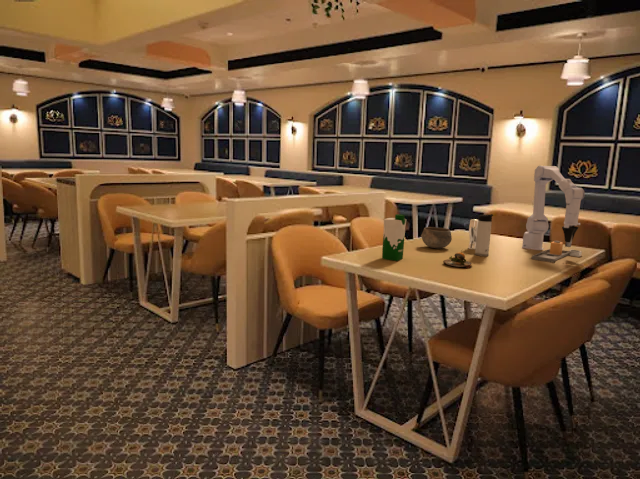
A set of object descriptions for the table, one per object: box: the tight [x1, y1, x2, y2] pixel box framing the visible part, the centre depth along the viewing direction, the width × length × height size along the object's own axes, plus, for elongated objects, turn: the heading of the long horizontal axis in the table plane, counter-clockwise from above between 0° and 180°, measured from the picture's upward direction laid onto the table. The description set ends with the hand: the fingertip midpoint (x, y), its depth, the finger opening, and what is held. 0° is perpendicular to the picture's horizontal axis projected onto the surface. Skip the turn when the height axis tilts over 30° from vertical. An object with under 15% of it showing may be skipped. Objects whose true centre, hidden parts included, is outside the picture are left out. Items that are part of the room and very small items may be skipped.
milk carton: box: [381, 214, 407, 262], centre depth 221 cm, size 9×9×20 cm
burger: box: [442, 250, 473, 270], centre depth 214 cm, size 12×12×8 cm
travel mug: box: [474, 213, 494, 257], centre depth 239 cm, size 6×7×20 cm
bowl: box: [420, 226, 453, 250], centre depth 255 cm, size 14×15×10 cm
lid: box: [531, 252, 562, 263], centre depth 237 cm, size 10×13×2 cm
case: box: [539, 248, 569, 259], centre depth 248 cm, size 10×17×2 cm, turn 139°
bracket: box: [567, 248, 583, 258], centre depth 247 cm, size 5×5×3 cm
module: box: [549, 240, 564, 255], centre depth 248 cm, size 4×4×7 cm
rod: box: [564, 238, 573, 248], centre depth 236 cm, size 3×3×7 cm
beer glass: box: [467, 218, 479, 251], centre depth 257 cm, size 7×7×15 cm
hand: (568, 241), depth 236 cm, fingers closed on rod, 3 cm apart
